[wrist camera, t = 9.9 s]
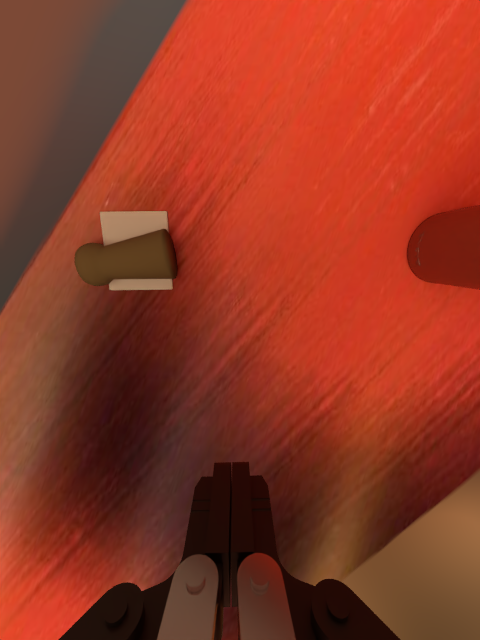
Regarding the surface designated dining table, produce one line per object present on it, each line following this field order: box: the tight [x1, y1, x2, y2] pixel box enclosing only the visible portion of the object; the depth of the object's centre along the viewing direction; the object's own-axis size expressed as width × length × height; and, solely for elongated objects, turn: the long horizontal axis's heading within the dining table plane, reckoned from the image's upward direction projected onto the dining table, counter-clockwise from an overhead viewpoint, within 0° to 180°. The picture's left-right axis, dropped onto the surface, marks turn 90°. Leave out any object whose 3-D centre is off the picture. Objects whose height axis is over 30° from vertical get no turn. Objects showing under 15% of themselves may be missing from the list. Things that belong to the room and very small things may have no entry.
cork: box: [75, 229, 177, 286], centre depth 32 cm, size 6×6×11 cm
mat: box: [100, 211, 173, 290], centre depth 35 cm, size 8×10×1 cm
